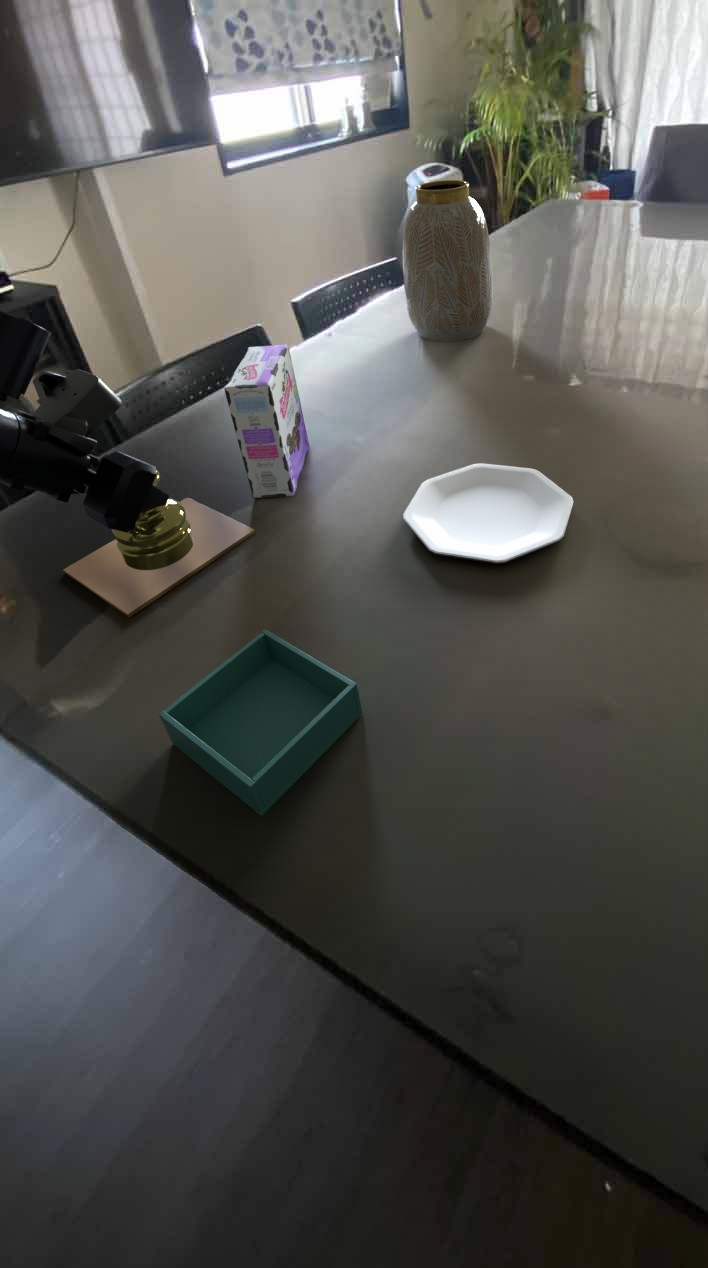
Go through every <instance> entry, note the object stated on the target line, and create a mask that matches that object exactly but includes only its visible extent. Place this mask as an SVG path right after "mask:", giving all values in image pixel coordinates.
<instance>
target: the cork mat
mask: <svg viewBox="0 0 708 1268" xmlns="http://www.w3.org/2000/svg"><path fill="white" fill-rule="evenodd" d="M179 502H180V503H181V504H182V505H183V506H184V508H185V512H186V520H187V521H188V522H189V523H190V529H191V532H192V535H193V538H194V544H193V547H192V548H191V550H190V551H189V553H188V554H187V555H186V556H185V557H183V558H182V559H181V560H179V561H177V562H176V563H174V564H172V565H169V566H167V567H164V568H160V569H156V570H137V569H133V568H131V567H129V566H128V565H127V564H126V563H125V562H124V559H123V557H122V554H121V552H120V551H119V549H118V547H117V542H118V541H117V540H116V539H115V538H114V539H113V540H112V541H110V542H108V543H107V544H105V545H103V546H101V547H100V548H98V549H96V550H94V551H92V552H91V553H90V554H88V555H86V556H84V557H82V558H81V559H79V560H77V561H76V562H73V563H72V564H70V565H68V566H67V567H66V568H64V569H63V570H62V572H63V573H64V575H67V577H69V578H71V579H73V580H74V581H75V582H77V583H78V584H79V585H81V586H83V588H85V589H87V590H88V591H90V593H93V594H94V595H96V596H97V597H98V598H99V599H100V600H102V601H104V602H106V603H107V604H108V605H110V606H111V607H112V608H114V609H116V611H119V612H120V613H121V614H123V615H124V616H125V617H127V618H131V617H133V616H134V615H135V614H137V613H138V612H140V611H141V610H143V609H144V608H146V607H147V606H149V605H151V604H152V603H153V602H154V601H156V600H158V599H159V598H161V597H162V596H164V595H165V594H167V593H168V592H169V591H171V590H173V589H174V588H176V587H177V586H179V585H180V584H182V583H183V582H184V581H186V580H188V579H189V578H190V577H193V575H195V574H196V573H198V572H199V571H201V570H202V569H204V568H205V567H207V566H208V565H210V564H212V562H214V561H215V560H217V559H219V558H220V557H221V556H223V555H224V554H226V553H227V552H229V551H230V550H232V549H233V548H235V547H236V546H238V545H239V544H241V543H242V542H244V541H245V540H247V539H248V538H250V537H252V536H253V535H254V534H256V531H255V529H254V528H252V527H250V526H248V525H246V524H244V523H242V522H240V521H237V520H235V519H233V518H231V517H229V516H227V515H225V514H224V513H221V512H219V511H217V510H216V509H213V508H210V507H209V506H207V505H204V504H202V503H200V502H198V501H196V500H194V499H192V498H189V497H188V496H187V497H186V498H183V499H182V500H179Z"/></svg>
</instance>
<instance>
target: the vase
mask: <svg viewBox="0 0 708 1268" xmlns="http://www.w3.org/2000/svg"><path fill="white" fill-rule="evenodd" d="M415 196H416V200H415V201H414V202H413V203H412V205H411V206H410V208H409V210H408V211H407V213H406V215H405V218H404V222H403V230H402V231H403V232H402V272H403V287H404V294H405V295H404V298H405V304H406V305H405V306H406V311H407V315H408V317H409V320H410V322H411V324H412V326H413V327H414V329H415V330H416V332H417V334H418V335H419V336H420V337H422V338H423V339H426V340H429V341H435V342H458V341H463V340H467V339H471V338H473V337H476V336H477V335H479V334H481V333H482V332H483V331H484V330H485V328H486V326H487V324H488V322H489V319H490V317H491V315H492V312H493V311H492V310H493V304H494V303H493V301H494V297H493V296H494V281H493V279H494V278H493V262H492V261H493V260H492V250H491V249H492V248H491V242H490V236H489V229H488V225H487V220H486V216H485V214H484V212H483V209H482V208H481V206H480V205H479V203H478V202H477V201H476V200H475V198H473V197H472V196H470V183H469V181H466V180H462V179H446V180H445V179H443V180H434V181H429V182H423V183H420V184H419V185H416V186H415Z"/></svg>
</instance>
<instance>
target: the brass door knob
mask: <svg viewBox="0 0 708 1268" xmlns="http://www.w3.org/2000/svg"><path fill="white" fill-rule="evenodd" d="M156 473H157V475H156V478H155V480H154V482H153V485H154V486H155V487H157V486H158V485H159V484H160V481H161V473H160V472H159V470H158V469H156ZM110 532H111V535H112V536H113V538H114V540H115V539H116V540H117V541H118V542H117V547H118V549H119V551H120V552H121V554H122V557H123V559H124V562H125V563H126V564H127V565H128V566H129V567H131V568H133V569H137V570H156V569H160V568H164V567H167V566H169V565H172V564H174V563H176V562H177V561H179V560H181V559H182V558H183V557H185V556H186V555H187V554H188V553H189V551H190V550H191V548H192V547H193V544H194V538H193V535H192V532H191V529H190V523H189V522H188V521H187V520H186V512H185V508H184V506H183V505H182V504H181V503H180V500H179V501H178V500H177V499H174V498H172V497H169V499H168V501H167V503H166V505H164V506H160V507H155V508H151V509H147V510H143V511H141V513H140V515H139V517H138V520H137V522H136V524H135V527H134V529H132V530H131V531H129V532H128V533H126V532H122V531H118V530H114V529H110Z"/></svg>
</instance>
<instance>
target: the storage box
mask: <svg viewBox="0 0 708 1268" xmlns="http://www.w3.org/2000/svg"><path fill="white" fill-rule="evenodd" d="M363 713H364V712H363V707H362V702H361V698H360V694H359V688H358V684H357V683H356V682H355V681H353V680H351V679H350V678H348V677H346V676H345V675H344V674H343V675H342V673H339V672H338V671H336V670H335V669H333V668H331V667H329V666H328V665H326V664H324V663H322V662H321V661H319V660H317V659H316V658H314V657H313V656H311V655H309V654H307V653H306V652H304V651H303V650H302V649H299V648H297V647H296V646H294V645H292V644H291V643H289V642H287V641H286V640H284V639H282V638H281V637H279V636H277V635H276V634H275V633H272V632H270V631H269V630H267V629H264V630H262V631H261V632H260V633H259V634H257V635H256V636H255V637H253V639H251V640H250V641H249V642H247V643H246V644H244V645H243V646H242V647H241V648H240V649H239V650H238V651H236V652H235V653H233V654H232V655H231V656H230V657H229V658H227V659H226V660H225V661H223V662H222V663H221V664H220V665H218V666H217V667H216V668H215V669H213V670H212V671H211V672H210V673H209V674H207V675H206V676H205V677H204V678H202V679H201V680H200V681H199V682H197V683H196V684H195V685H193V686H192V687H190V689H189V690H188V691H186V692H185V693H184V694H182V695H181V696H180V697H179V698H177V699H176V700H175V701H173V702H172V703H170V705H168V706H167V707H166V708H165V709H164V710H162V711H161V712H160V713H159V714H158V716H159V718H160V720H161V723H162V725H163V726H164V728H165V731H166V733H167V735H168V737H169V739H170V742H171V743H172V744H173V746H175V747H176V748H178V749H179V751H181V752H182V753H183V754H185V755H186V756H187V757H188V758H189V759H191V760H192V761H193V762H195V763H196V765H198V766H200V767H201V768H202V769H203V770H204V771H206V772H207V773H208V774H209V775H210V776H211V777H213V778H214V779H215V780H216V781H217V782H219V783H220V784H221V785H222V786H224V787H225V788H226V789H228V790H229V791H230V792H231V793H232V794H233V795H235V796H236V797H237V798H238V799H239V800H241V801H242V802H243V803H244V804H246V805H247V807H249V808H251V810H253V811H254V812H255V813H256V814H258V815H259V816H260V817H263V816H264V815H265V814H266V813H267V812H268V811H269V810H270V809H271V808H272V807H273V806H274V805H275V804H276V803H277V801H279V799H281V797H282V796H283V795H284V794H285V793H286V792H287V791H288V790H289V789H290V788H292V786H293V785H294V784H295V783H296V782H298V780H299V779H300V778H301V777H302V776H303V775H304V774H305V773H306V772H307V771H308V770H309V769H310V767H312V766H313V765H314V764H315V763H316V762H317V761H318V760H319V758H321V756H323V755H324V754H325V753H326V751H328V750H329V748H330V747H331V746H332V745H333V744H335V743H336V741H337V740H338V739H339V738H340V737H341V736H342V735H343V734H344V733H345V732H347V730H349V728H350V727H351V726H352V725H353V724H354V723H355V722H356V721H357V720H358V719H359V718H360V717H361V716H362V715H363Z"/></svg>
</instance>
